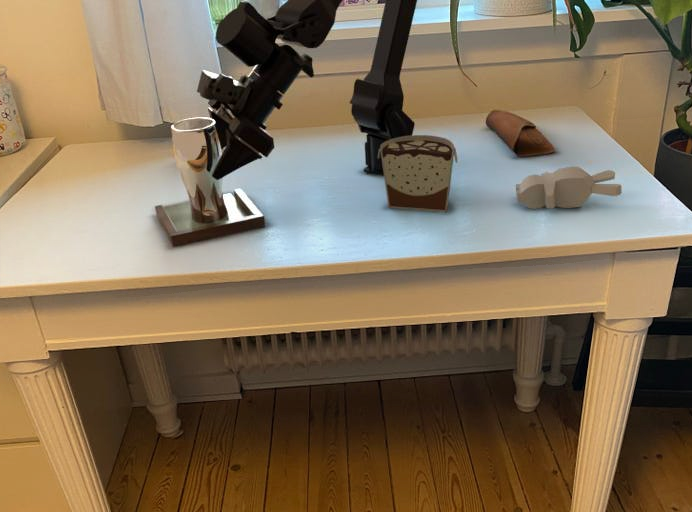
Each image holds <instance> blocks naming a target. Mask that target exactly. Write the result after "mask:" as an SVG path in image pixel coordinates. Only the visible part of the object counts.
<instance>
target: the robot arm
mask: <svg viewBox="0 0 692 512" xmlns="http://www.w3.org/2000/svg"><path fill="white" fill-rule="evenodd" d="M343 1H344V0H287V1H285V2H284V3H283V4H282V5H281V6H280V7H279V8H278V9H277V11H276V13H275V14H273V15H271V16H269V17H267V18H265V17H264V16H263V15H262V14H261V13H259V12H258V10H257V8H255V7H254V5H253V4H251V3H250V2H249V1H241V0H240V1H239V3H238V4H237V6H236V8H234V9H232V10H231V11H229V12H228V13H227V14H226V15H225V16H224V18H222V19H220V21H219V23H218V25H217V27H216V30H215V40H216V42H217V44H219V45H220V46H221V47H222V48H224V49H225V50H226V51H228V53H230V54H231V55H233V56H234V57H235V58H236V59H237V60H239V61H240V62H241V63H242V64H244V65H245V66H247V67H248V68H252V67H254V68H253V69H252V70H251V72H250V73H249V75H248V74H246V73H244V74H241V75H240V77H239V78H238V80H236V79H234V78H233V77H232V76H231V75H228V76H227V75H226V74H224V73H220V74H218V73H214V72H211V71H208V70H204V69H202V70H201V72H200V73H201V74H200V77H199V81H198V85H197V90H196V93H198V94H199V96H200V97H201V98H203V99H205V100H208V101H207V104H208V105H209V107H207V112H208V114H209V118H210V119H213V120H214V121H215V124H216V128H217V132H218V136H219V141H220V146H221V150H222V149H224V152H223V153H222V155H221V157H220V159H219V161H218V163H217V165H216V167H215V169H214V171H213V174H212V177H213V178H215V179H216V180H219V179H221V178H222V179H223V178H225V177H226V176H228V175H230V174H232V173H233V172H236V171H237V170H239V169H241V168H243V167H245V166H247V165H248V164H250V163H252V162H254V161H257V160H262V159H263V157H264V158H265V157H266V158H268V157H269V156H270V154H271V153H272V151H273V150H274V149H275V140H274V137H273V136H272V135H271V134H269V132H268V131H267V130H266V129H267V128H268V127H267V125H266V124H265V123H266V121H267V120H268V118H269V117H270V116H271V114H272V113H273V111H274V110H275V109H277V110H281V108H282V107H283V105H284V104H283V103H282V101H281V100H282V99H283V97H284V96H285V94H287V92H288V90H289V89H290V87H291V86H292V85H293V83H294V82H295V80H296V79H297V78H298V76H299V75H300V74H301V72H302V73H303V74H305V75H306V76H308V77H309V78H314V76H315V73H314V72H315V71H314V67H313V60H314V59H313V57H311V56H310V55H309V54H308V53H302V54H300V53H299V52H298V51H297V50H296V49H295V48H293V47H292V46H296V47H298V48H299V47H300V48H304V49H317V48H319V47H320V46H321V45H322V44H324V42H325V41H326V39H327V37H328V35H329V34H330V32H331V30H332V28H333V27H334V25H335V23H336V15H337V11H338V9H339V7H340V5H341V4H342V3H343ZM417 4H418V0H385V3H384V7H383V11H382V15H381V21H380V25H379V29H378V34H377V39H376V43H375V48H374V52H373V57H372V62H371V65H370V66H371V67H370V69H369V72H368V73H367V74H366V75H365V77H364V78H363V79H361V78H356V79H355V81H354V84H353V91H352V92H353V93H352V95H351V99H350V100H349V104H351V109H350V111H351V116H352V117H353V121H354V122H355V123H356V124H357V126H358V129H359V132H360V133H363V134H366V135H365V136H366V141H365V142H364V160H365V165H366V167H364V168H363V172H364V173H368V174H369V173H370V174H376V175H384V172H383V165H382V158H381V157H379V158H378V151H379V149H380V145H381V144H382V143H384V142H386V141H388V140H391V139H394V138H398V137H403V136H412V135H414V130H415V126H416V125H415V123H416V122H414V120H412V118H411V117H410V116H408V114H407V113H405V111H403V108H404V98H405V95H404V91H403V88H402V87H403V86H402V83H401V78H400V77H401V73H402V72H401V71H402V67H403V64H404V60H405V54H406V51H407V46H408V42H409V37H410V33H411V29H412V25H413V20H414V16H415V12H416V7H417ZM277 39H278V40H280V41H281V42H282V43H284V44H282V45H279V44H278V43H277V42H276V41H277Z"/></svg>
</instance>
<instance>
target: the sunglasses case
mask: <svg viewBox="0 0 692 512" xmlns="http://www.w3.org/2000/svg"><path fill="white" fill-rule="evenodd" d="M485 125H486V127H487V128H488V129H490V130H491V131H492V132H494V133H495V135H497V137H498V138H499V139H500V140H502V142H503V143H504V144H505V145H506V146H507V147H508V148H509V149H510V150H511V152H513V153H514V154H515V156H516V157H518V158H522V157H524V158H525V157H537V156H543V155H549V154H553V153H555V152H556V149H555V147H554V146H553V144H552V143H551V142H550V141H549V139H547V137H546V136H545V135H544V133H542V132H541V131H539V129H538V128H537V125H536V124H534V123H533V122H532V121H530V120H528V119H526V118H523V117H522V116H520V115H518V114H515V113H512V112H509V111H507V110H501V109H493V110H491V111H490V112H488V114H487V116H486V119H485Z"/></svg>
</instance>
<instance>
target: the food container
mask: <svg viewBox="0 0 692 512" xmlns="http://www.w3.org/2000/svg"><path fill="white" fill-rule="evenodd" d="M457 154H458V153H457V148H456V147H455V144H454V142H452V141H451V139H447V138H445V137H441V136H436V135H428V134H412V136H403V137H398V138H394V139H391V140H388V141H386V142H384V143H382V144H381V145H380V149H379V151H378V158H379V157H381V158H382V165H383V172H384V174H383V178H384V185H385V192H386V199H387V206H388V208H389V209H400V210H401V209H402V210H415V211H428V212H440V213H441V212H442V213H447V212H448V207H449V198H450V192H451V191H450V190H451V181H452V173H453V164H454V161H455V164H457V163H458V155H457Z"/></svg>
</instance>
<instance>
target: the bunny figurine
mask: <svg viewBox="0 0 692 512" xmlns="http://www.w3.org/2000/svg"><path fill="white" fill-rule="evenodd" d="M615 178H616V171H614V170H610V169H607V170H604V171H601V172H597V173H594V174H592V175H591V174H590V173H589V172H587V171H586V170H585V169H583V168H581V167H580V166H564V167H561V168H558V169H556V170H555V171H553V172H549V171H544V172H542V173H540V174H535V173H534V174H530V175H528V176H527V177H525V178H523V180H522V181H521V182H519V183H517V184H515V194H516V200H517V204H523V205H524V206H525V207H527V208H529V209H530V210H537V209H538V210H539V209H541V208H542V207H546V208H547V209H554V208H555V207H559V208H562V209H571V208H572V209H573V208H580V207H582V206H584V205H585V204H586V202H587V201H588V199H589V198H590V197H591V195H592V194H593V195H594V194H595V195H600V196H601V195H602V196H607V197H618V196H621V195H622V193H623V191H622V189H623V188H622V184H621V183H603V182H607V181H612V180H615Z"/></svg>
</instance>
